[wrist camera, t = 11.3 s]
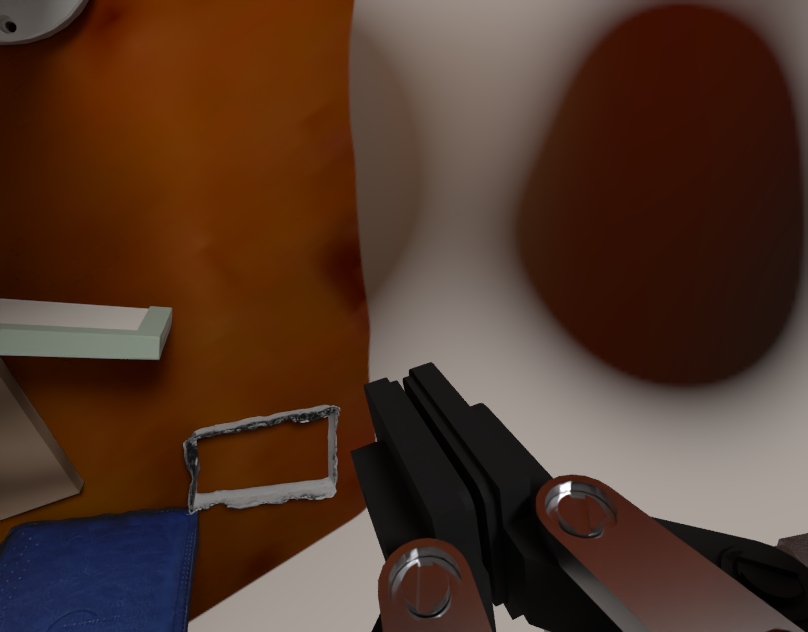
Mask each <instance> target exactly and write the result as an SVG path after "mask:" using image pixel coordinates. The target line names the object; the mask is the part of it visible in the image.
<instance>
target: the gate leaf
mask: <svg viewBox="0 0 808 632" xmlns="http://www.w3.org/2000/svg"><path fill="white" fill-rule="evenodd" d="M171 326H172V308H168V307H154V306H150V308H149V309H145V308H131V307H116V306H102V305H87V304H73V303H58V302H44V301H29V300H15V299H0V355H12V356H46V357H79V358H112V359H145V360H159V359H160V356H161V352H162V350H163V347H164V344H165V342H166V339H167V336H168V334H169V331H170V328H171Z"/></svg>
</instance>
